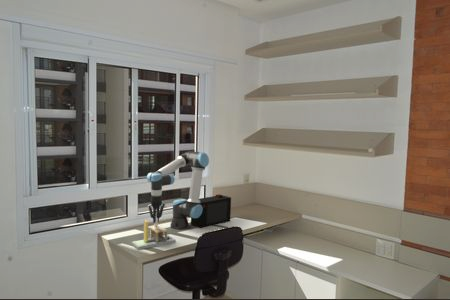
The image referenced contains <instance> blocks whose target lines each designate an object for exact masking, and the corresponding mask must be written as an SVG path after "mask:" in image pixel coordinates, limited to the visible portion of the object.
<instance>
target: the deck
mask: <svg viewBox="0 0 450 300" xmlns="http://www.w3.org/2000/svg"><path fill="white" fill-rule="evenodd" d="M163 237H164V238H165V235H163ZM148 239H150V237H148ZM173 243H176V239H175V238H173V237H172V236H171V235H169V234H167V241H166V242H165V240H161V241H158V243H156V242H155V241H149V242H144V239H140V240H133V241H131V246H133V247H134V248H135V249H136V250H137V251H138V249H139V250H144V249H148V248H149V249H150V248H153V247H154V248H155V247H159V246H165V245H169V244H173Z"/></svg>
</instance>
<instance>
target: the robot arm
mask: <svg viewBox="0 0 450 300" xmlns="http://www.w3.org/2000/svg"><path fill="white" fill-rule="evenodd" d="M209 163H210V159H209V156H208V154H207V153H206V152H203V151H192V150H191V151H187V152H184V153H182V154H180V155H179V156H177V158H176V159H174V160H172V161H170V162H169V163H168V164H166V165H164V166H163V167H161V168H160V169H158V170H157V171H155V172H149V173H147V175H146V180H147V182H148V183H150V188H151V190H150V194H151V196H150V204H147V208H148V211H149V216H150V218H152V219H153V220H152V222H153V227H155V228H157V227H158V226H159V223H160V222H159V221H160V218H162V216H163V213H164V212H163V211H164V208H165V207H166V204H165V203H164V202H162V198H163V195H162V194H163V187H164V186H170V185H173V184H174V183H175V177H174V175H173V174H172V173H174V172H176V171H177V170H179V169H180V168H182V167H186V166H190V168H191V170H192V172H191V179H190V185H189V193H188V199H186V198H181V199H175V200H173V203H172V219H171V221H170V228H172V230H173V229H174V230H186V229H188V228H189V222H188V221H189V220H188V218H190V219H191V218H198V217H199V216H200V215H201V214H202V211H203V208H202V206H201V205H200V203H201V202H200V201H199V199H200V198H201V197H200V195H201V188H202V181H203V174H204V173H203V172H204V171H205V169H206V168H207V167H208V166H209Z"/></svg>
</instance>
